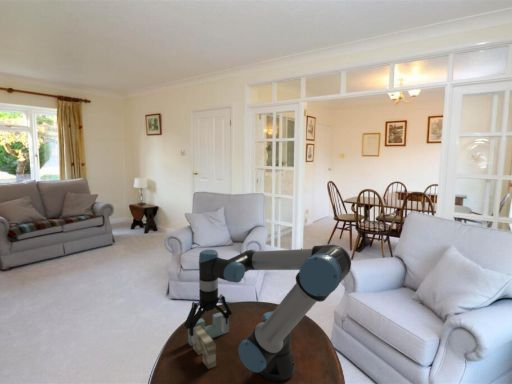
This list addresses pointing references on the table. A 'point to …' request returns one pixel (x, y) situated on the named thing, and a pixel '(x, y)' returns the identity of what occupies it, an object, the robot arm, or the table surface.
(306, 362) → the table surface
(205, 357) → the beige bar
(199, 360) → the table surface
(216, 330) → the base plate
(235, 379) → the table surface
